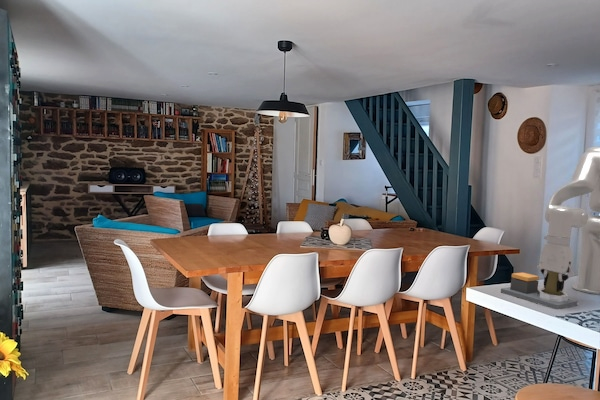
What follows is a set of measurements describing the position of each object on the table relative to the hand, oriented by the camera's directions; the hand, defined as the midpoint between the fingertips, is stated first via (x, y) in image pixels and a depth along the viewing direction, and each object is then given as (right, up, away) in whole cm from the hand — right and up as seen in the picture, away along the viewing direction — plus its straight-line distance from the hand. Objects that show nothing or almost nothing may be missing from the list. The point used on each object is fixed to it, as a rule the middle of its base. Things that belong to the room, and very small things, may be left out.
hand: (553, 289), depth 185 cm
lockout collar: (0, -4, 0) cm, 4 cm away
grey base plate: (-3, -5, +5) cm, 8 cm away
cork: (0, -3, 0) cm, 2 cm away
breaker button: (-7, -1, +10) cm, 12 cm away
